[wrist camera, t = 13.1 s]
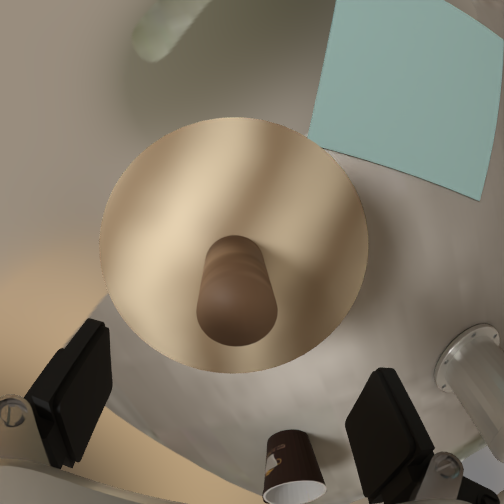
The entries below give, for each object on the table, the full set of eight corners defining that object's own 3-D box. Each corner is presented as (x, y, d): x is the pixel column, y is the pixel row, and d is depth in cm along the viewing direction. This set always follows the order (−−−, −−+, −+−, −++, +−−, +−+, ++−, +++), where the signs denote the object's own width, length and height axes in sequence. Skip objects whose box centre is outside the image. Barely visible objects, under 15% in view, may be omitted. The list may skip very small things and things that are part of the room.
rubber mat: (501, 40, 23) (503, 39, 23) (477, 200, 31) (479, 201, 30) (343, -42, 21) (344, -44, 21) (306, 143, 29) (306, 143, 28)
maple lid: (388, 154, 19) (455, 165, 12) (321, 371, 24) (347, 438, 17) (122, 102, 17) (68, 85, 10) (105, 342, 22) (73, 407, 15)
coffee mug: (298, 417, 41) (308, 474, 32) (324, 441, 44) (336, 491, 35) (233, 445, 43) (232, 498, 34) (263, 466, 46) (267, 514, 37)
